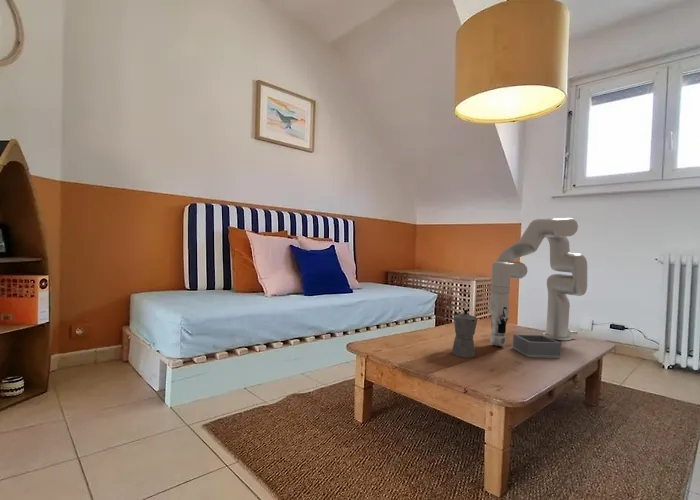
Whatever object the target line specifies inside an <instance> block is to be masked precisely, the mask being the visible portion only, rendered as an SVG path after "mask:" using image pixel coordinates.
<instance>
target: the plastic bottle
mask: <svg viewBox="0 0 700 500" xmlns="http://www.w3.org/2000/svg"><path fill="white" fill-rule="evenodd" d="M494 315H495V312H494V310H493V309H492V316H491V318H492V319H491V326H492V329H491V331H490V332H491V334H490V337H489V341H490V344H491V345H494V346H496V347H503V346H505V344H506V342H507V341H506V340H507V339H506V333H498V324H499V317H496V316H494ZM501 317H504V314H503V313H502V315H501ZM502 319H503V318H501V320H502Z"/></svg>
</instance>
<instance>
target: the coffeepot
mask: <svg viewBox="0 0 700 500" xmlns="http://www.w3.org/2000/svg"><path fill="white" fill-rule="evenodd" d="M468 311H469V310H468V309H465V308H464V309H463V313H462V312H461V313H460V312H458V311H456V312H454V314H453V323H454V324H453V325H454V332H455V337H454V341H453V345H452V350H451V353H452V355H453V356H456V357H460V358H466V359H467V358H468V359H471V358H474V357H475V356H476V350H475V343H474V342H475V341H474V335H475V333H476V328H477V322H478V318H477V316H473V315H471V314H468V313H469V312H468Z"/></svg>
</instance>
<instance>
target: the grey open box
mask: <svg viewBox="0 0 700 500" xmlns="http://www.w3.org/2000/svg"><path fill="white" fill-rule="evenodd" d="M512 337H513V338H512V349H514V350H515V351H517V352H519V353H520V354H523V355H524V356H526V357H527V358H545V359H546V358H549V359H550V358H551V359H561V350H562V348H561V347H562V343H561V342H559V341H557V340H556V339H550V338H548V337H546V336H544V335H542V334H541V335H540V334H514V333H513V335H512Z"/></svg>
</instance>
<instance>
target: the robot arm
mask: <svg viewBox="0 0 700 500" xmlns="http://www.w3.org/2000/svg"><path fill="white" fill-rule="evenodd" d="M578 228H579V225H578V221H577V220H576V219H575V218H573V217H555V218H554V217H551V218H550V217H548V218H536V219H533V220H532V221H531V222H530V223H529V225H528V226H527V228H526V229H525V231H524V232H523V234H522V235H521V237H520V239H519V240H518V241H516V242H515V243H513V244H511V246H509V247H507V248H506V249H504V250H503V251H502V252H501V253H500V255H499V256H498V257H497V259H496V260H495V261H494V262H493V263H492V266H491V268H492V269H491V282H490V283H491V286H490V297H489V304H488V313H489V314H490V316H491V318H490V319H491V320H492V309H493V310H494V312H495V315H494V316H496V317H499V324H498V333H505V334H506V328H507V323H508V320H510V316H509V315H510V297H509V296H510V292H511V290H510V288H511V279H517V280H519V279H523V278H524V277H526V275H527V273H528V267H527V265H526V264H525V263H523V262H521V261H515V260H516V259H518V258H522V257H526V256H529V255H531V254H534V253H535V252H536V251H537V250H538V248H539V246H540V245H541V243H542V242H543V240H544V239H545V238H546V239H547V241H548V243H549V264H550V265H549V266H550V268H551V270H553V271H554V272H555V271H556V272H560V273H553V274H550V275H549V276H548V277H547V279H546V289H547V311H546V327H545V328H546V329H545V331H544V332H542V334H541V335H544V336H546V337H548V338H550V339H553V340H555V341H557V340H558V341H571V340H572V337H571V336H573V335H575V336H576V335H578V333H579V332H578V331H577V330H572V329H569V323H570V321H569V320H570V299H569V297H568V295H569V296H577V297H581V296H583V295H585V294H586V292H587V290H588V262H587V258H586V257H585V255H583V254H582V253H579V252H578V253H577V252H570V241H569V239H568V237H572V236H574V235H575V234H576V233H577V232H578ZM562 273H563V274H562ZM564 273H571V275H570V274H564ZM502 313H503V314H504V317H501V315H502ZM501 318H503V319H502V320H501ZM490 329H491V330H492V325H491V328H490Z"/></svg>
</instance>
